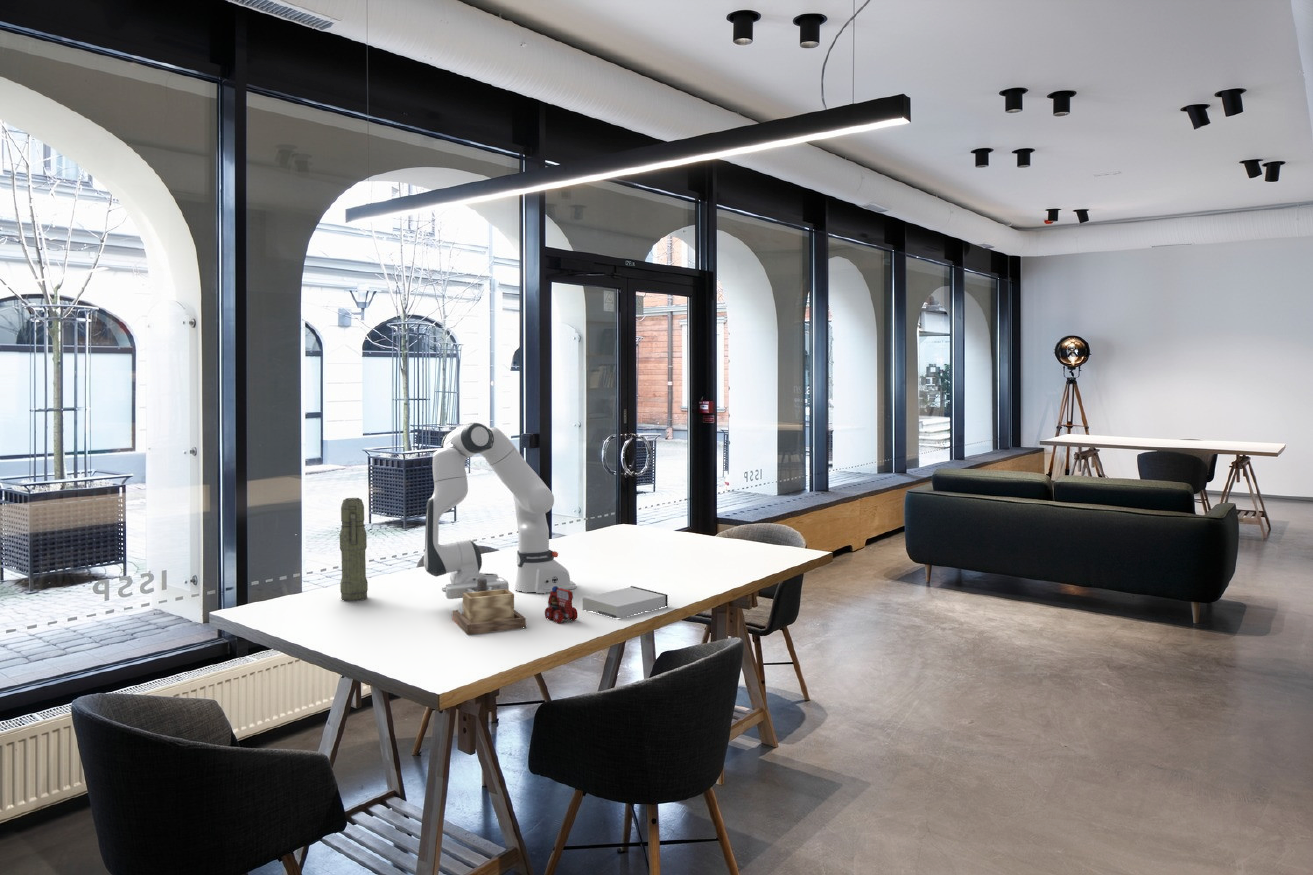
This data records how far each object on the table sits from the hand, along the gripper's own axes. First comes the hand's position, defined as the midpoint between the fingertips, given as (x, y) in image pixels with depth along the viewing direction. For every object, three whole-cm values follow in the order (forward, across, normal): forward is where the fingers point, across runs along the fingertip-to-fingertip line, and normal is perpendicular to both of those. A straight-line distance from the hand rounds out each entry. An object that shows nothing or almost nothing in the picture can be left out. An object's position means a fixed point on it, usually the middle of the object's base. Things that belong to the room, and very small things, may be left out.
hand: (482, 593), depth 285 cm
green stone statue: (-47, -33, +8) cm, 58 cm away
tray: (+6, 0, +8) cm, 10 cm away
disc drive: (+8, +46, +9) cm, 47 cm away
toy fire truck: (+11, +22, +8) cm, 26 cm away
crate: (+4, 0, +6) cm, 8 cm away
